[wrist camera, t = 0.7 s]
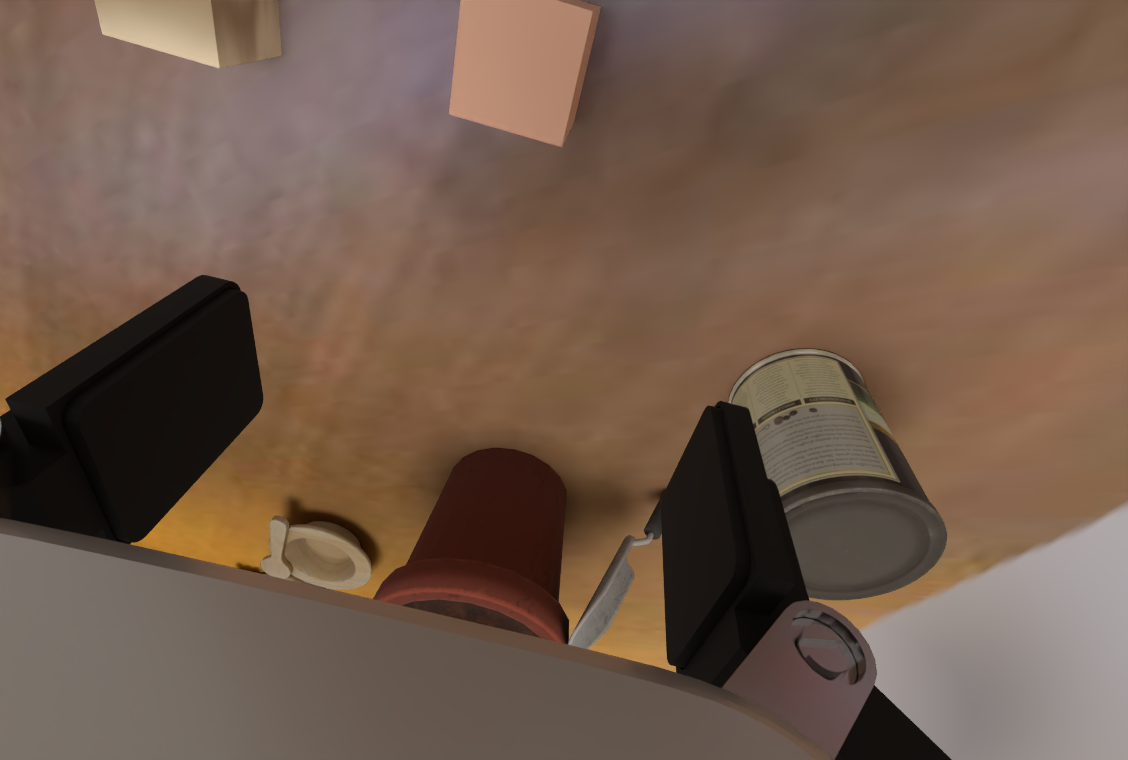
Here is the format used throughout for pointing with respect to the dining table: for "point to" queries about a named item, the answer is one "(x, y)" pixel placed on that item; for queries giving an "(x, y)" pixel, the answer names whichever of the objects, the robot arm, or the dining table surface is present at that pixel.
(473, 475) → the potted plant
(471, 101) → the terracotta cube
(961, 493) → the dining table surface
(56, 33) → the dining table surface
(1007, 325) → the dining table surface
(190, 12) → the brass cube
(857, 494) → the coffee can
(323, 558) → the tableware set
